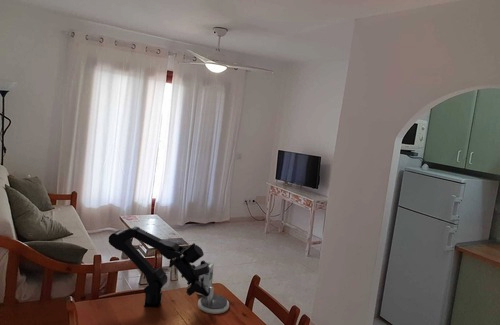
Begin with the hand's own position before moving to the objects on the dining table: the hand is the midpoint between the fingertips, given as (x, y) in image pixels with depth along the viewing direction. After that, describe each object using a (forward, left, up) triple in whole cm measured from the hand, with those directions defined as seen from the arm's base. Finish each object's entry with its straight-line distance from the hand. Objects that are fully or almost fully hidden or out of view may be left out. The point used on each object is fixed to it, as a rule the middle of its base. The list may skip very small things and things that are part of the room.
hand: (207, 295), depth 165 cm
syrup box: (-2, +17, -7) cm, 19 cm away
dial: (+3, +5, -6) cm, 8 cm away
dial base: (+3, +5, -7) cm, 10 cm away
